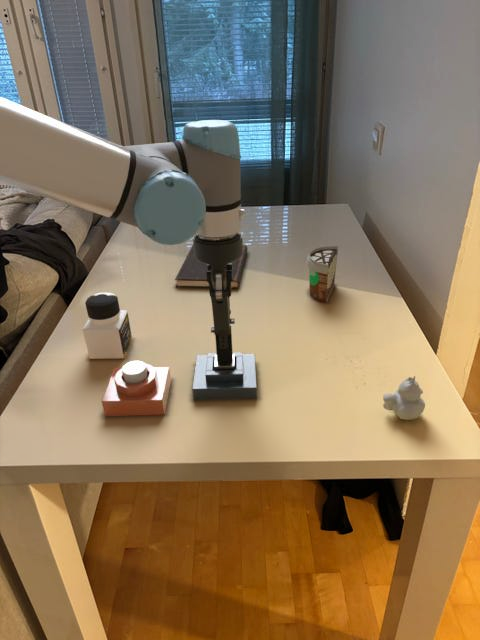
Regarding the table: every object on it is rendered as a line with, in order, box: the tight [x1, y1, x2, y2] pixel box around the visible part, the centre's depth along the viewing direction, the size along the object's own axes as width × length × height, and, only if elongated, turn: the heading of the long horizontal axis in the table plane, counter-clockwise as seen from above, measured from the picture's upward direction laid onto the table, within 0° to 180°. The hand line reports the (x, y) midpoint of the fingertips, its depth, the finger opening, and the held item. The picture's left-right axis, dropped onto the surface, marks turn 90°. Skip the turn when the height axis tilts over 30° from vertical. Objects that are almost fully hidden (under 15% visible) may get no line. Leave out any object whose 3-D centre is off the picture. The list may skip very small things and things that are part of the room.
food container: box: [305, 245, 339, 303], centre depth 111 cm, size 12×6×10 cm, turn 159°
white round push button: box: [121, 359, 148, 384], centre depth 79 cm, size 4×4×2 cm
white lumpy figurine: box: [382, 375, 426, 421], centre depth 74 cm, size 5×7×8 cm
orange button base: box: [101, 362, 172, 417], centre depth 80 cm, size 10×9×5 cm
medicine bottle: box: [82, 291, 133, 360], centre depth 92 cm, size 7×7×12 cm
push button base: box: [191, 352, 258, 401], centre depth 84 cm, size 11×10×4 cm
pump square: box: [214, 354, 235, 371], centre depth 83 cm, size 4×4×2 cm
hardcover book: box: [174, 244, 248, 290], centre depth 126 cm, size 16×23×2 cm
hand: (224, 358), depth 82 cm, fingers closed
